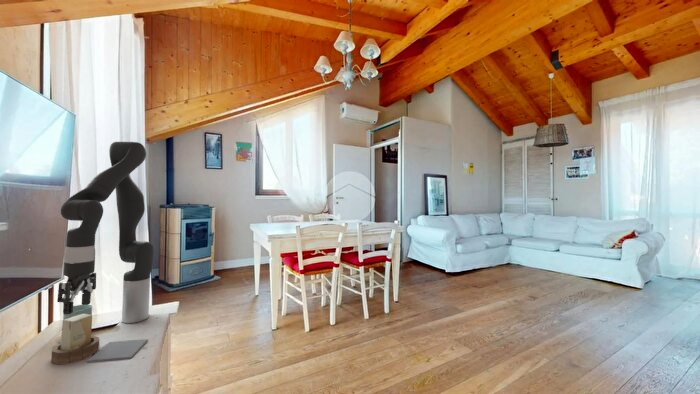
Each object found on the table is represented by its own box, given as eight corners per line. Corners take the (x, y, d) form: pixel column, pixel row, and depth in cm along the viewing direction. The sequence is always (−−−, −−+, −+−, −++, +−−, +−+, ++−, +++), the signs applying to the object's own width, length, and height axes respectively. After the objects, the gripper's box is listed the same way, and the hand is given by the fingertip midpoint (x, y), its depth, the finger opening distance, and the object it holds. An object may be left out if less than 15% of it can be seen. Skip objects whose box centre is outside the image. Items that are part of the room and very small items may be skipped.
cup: (77, 329, 112) (78, 303, 113) (96, 330, 112) (97, 304, 112) (56, 339, 105) (57, 311, 105) (77, 339, 104) (78, 312, 105)
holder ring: (68, 347, 99) (68, 337, 99) (105, 344, 102) (106, 334, 102) (41, 365, 88) (42, 354, 88) (84, 361, 91) (85, 350, 91)
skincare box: (69, 360, 91) (71, 321, 91) (59, 358, 92) (60, 320, 92) (91, 350, 98) (93, 314, 98) (81, 348, 98) (83, 312, 99)
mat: (109, 343, 102) (109, 342, 102) (147, 340, 105) (147, 339, 105) (87, 362, 91) (87, 360, 91) (131, 358, 93) (131, 356, 93)
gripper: (81, 256, 102) (78, 302, 101) (49, 264, 88) (46, 318, 87) (106, 255, 103) (103, 301, 103) (78, 263, 89) (75, 316, 89)
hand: (77, 309), depth 95 cm, fingers open, 8 cm apart
